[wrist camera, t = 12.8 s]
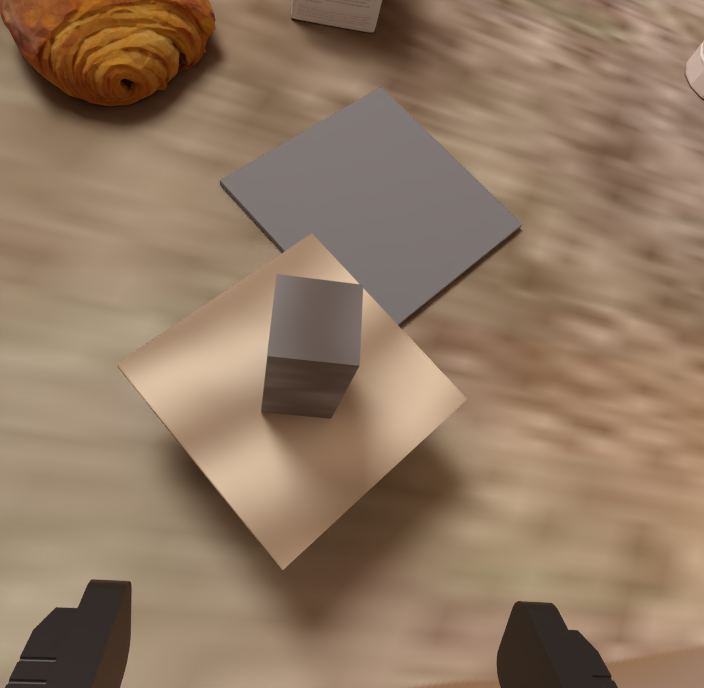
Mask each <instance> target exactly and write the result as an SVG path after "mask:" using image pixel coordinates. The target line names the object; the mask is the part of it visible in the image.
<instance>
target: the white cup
mask: <svg viewBox="0 0 704 688" xmlns="http://www.w3.org/2000/svg"><path fill="white" fill-rule="evenodd" d="M685 74H686V77H687V79H688V82H689V84H690V86H691V87H692V88H693V89H694V91H695V92H696V93H697V94H698V95H699V96H700V97H701V98H703V99H704V41H703V43H702V44H701V45H700V46H699V48H698V49H697V50H696V51H695V53H694V54H693V55H692V56H691V58H690V59H689V60H688V62H687V64H686V72H685Z"/></svg>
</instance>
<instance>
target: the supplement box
mask: <svg viewBox="0 0 704 688" xmlns="http://www.w3.org/2000/svg"><path fill="white" fill-rule="evenodd" d="M381 3H382V0H292V7H291V18H293V19H298V20H303V21H308V22H314V23H319V24H324V25H330V26H335V27H340V28H347V29H352V30H358V31H363V32H374V31H375V28H376V24H377V20H378V16H379V11H380V7H381Z"/></svg>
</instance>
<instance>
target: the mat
mask: <svg viewBox="0 0 704 688" xmlns="http://www.w3.org/2000/svg"><path fill="white" fill-rule="evenodd" d="M220 185H221V186H222V187H223V188H224V189H225V190H226V192H227V193H228V194H229V195H230V196H231V197H232V198H233V199H234V200H235V201H236V202H237V204H238V205H239V206H240V207H241V208H242V209H243V210H244V211H245V212H246V213H247V214H248V216H249V217H250V218H251V219H252V220H253V221H254V222H255V223H256V224H257V225H258V226H259V227H260V229H261V230H262V231H263V232H264V233H265V234H266V235H267V236H268V237H269V238H270V239H271V241H272V242H273V243H274V244H275V245H276V246H277V247H278V248H279V249H280V250H281V251H282V253H283V252H285V251H286V250H288V249H289V248H291V247H292V246H294V245H295V244H297V243H298V242H300V241H301V240H303V239H304V238H306V237H307V236H309V235H310V234H313V235H314V236H315V237H316V238H317V239H318V240H319V241H320V242H321V243H322V244H323V246H324V247H325V248H326V249H327V250H328V251H329V252H330V253H331V254H332V255H333V256H334V257H335V258H336V259H337V261H338V262H339V263H340V264H341V265H342V266H343V267H344V268H345V269H346V270H347V271H348V272H349V273H350V274H351V275H352V277H353V278H354V279H355V280H356V281H357V282H358V283H359V284H361V285H363V288H364V289H365V290H366V292H367V293H368V294H369V295H370V296H371V297H372V298H373V299H374V300H375V301H376V302H377V303H378V304H379V305H380V306H381V308H382V309H383V310H384V311H385V312H386V313H387V314H388V315H389V316H390V317H391V318H392V319H393V320H394V321H395V323H396V324H397V325H400V324H401V323H402V322H403V321H405V320H406V319H407V318H408V317H410V316H411V315H412V314H413V313H415V312H416V311H417V310H418V309H420V308H421V307H422V306H423V305H425V304H426V303H427V302H428V301H429V300H431V299H432V298H433V297H434V296H436V295H437V294H438V293H439V292H441V291H442V290H443V289H444V288H446V287H447V286H448V285H449V284H451V283H452V282H453V281H454V280H456V279H457V278H458V277H459V276H460V275H462V274H463V273H464V272H465V271H467V270H468V269H469V268H470V267H472V266H473V265H474V264H475V263H477V262H478V261H479V260H480V259H482V258H483V257H484V256H485V255H487V254H488V253H489V252H490V251H491V250H493V249H494V248H495V247H496V246H498V245H499V244H500V243H501V242H503V241H504V240H505V239H506V238H508V237H509V236H510V235H511V234H513V233H514V232H515V231H516V230H518V229H519V228H520V227H521V225H522V223H521V222H520V221H519V220H518V219H517V218H516V217H515V216H514V215H513V214H512V213H511V212H510V211H508V210H507V209H506V208H505V207H504V206H503V205H502V204H501V203H500V202H499V201H498V200H497V199H496V198H495V197H494V196H493V195H492V194H491V193H490V192H489V191H488V190H487V189H486V188H485V187H484V186H483V185H482V184H481V183H480V182H479V181H478V180H476V179H475V178H474V177H473V176H472V175H471V174H470V173H469V172H468V171H467V170H466V169H465V168H464V167H463V166H462V165H461V164H460V163H459V162H458V161H457V160H456V159H455V158H454V157H453V156H452V155H451V154H450V153H449V152H448V151H447V150H446V149H445V148H443V147H442V146H441V145H440V144H439V143H438V142H437V141H436V140H435V139H434V138H433V137H432V136H431V135H430V134H429V133H428V132H427V131H426V130H425V129H424V128H423V127H422V126H421V125H420V124H419V123H418V122H417V121H416V120H415V119H414V118H413V117H411V116H410V115H409V114H408V113H407V112H406V111H405V110H404V109H403V108H402V107H401V106H400V105H399V104H398V103H397V102H396V101H395V100H394V99H393V98H392V97H391V96H390V95H389V94H388V93H387V92H386V91H385V90H384V89H383V88H382V87H380V88H378V89H376V90H374V91H373V92H371V93H369V94H368V95H366V96H364V97H362V98H361V99H359V100H357V101H355V102H354V103H352V104H350V105H349V106H347V107H345V108H343V109H342V110H340V111H338V112H337V113H335V114H333V115H331V116H330V117H328V118H326V119H324V120H323V121H321V122H319V123H318V124H316V125H314V126H312V127H311V128H309V129H307V130H305V131H304V132H302V133H300V134H299V135H297V136H295V137H293V138H292V139H290V140H288V141H287V142H285V143H283V144H281V145H280V146H278V147H276V148H274V149H273V150H271V151H269V152H268V153H266V154H264V155H262V156H261V157H259V158H257V159H255V160H254V161H252V162H250V163H249V164H247V165H245V166H243V167H242V168H240V169H238V170H237V171H235V172H233V173H231V174H230V175H228V176H226V177H224V178H223V179H221V180H220Z"/></svg>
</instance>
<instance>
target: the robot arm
mask: <svg viewBox="0 0 704 688" xmlns="http://www.w3.org/2000/svg"><path fill="white" fill-rule="evenodd" d="M131 590H132V589H131V582H130V581H114V580H93V579H92V580H91V581H90V582H89V583H88V585H87V587H86V590H85V592H84V595H83V597H82V599H81V602H80V604H79V606H78V608H58V607H56V608H55V609H54V610H53V611H52V612H51V613H50V614H49V615H48V616H47V617H46V618H45V619H44V620H43V621H42V622H41V623H40V624H39V625H38V626H37V627H36V628H35V629H34V630H33V631H32V634H31V636H30V638H29V640H28V642H27V644H26V646H25V648H24V650H23V652H22V654H21V656H20V661H19V662H17V664H16V666H15V668H14V670H13V672H12V675H11V677H10V679H9V683H8V685H6V687H5V688H120V686H121V682H122V679H123V675H124V672H125V668H126V664H127V659H128V653H129V647H130V637H131ZM497 674H498V679H499V683H500V686H501V688H618V687H617V685H616V683H615V682H614V681H612V680H611V674H610V673H609V671H608V669H607V667H606V665H605V663H604V662H603V660H602V658H601V656H600V654H599V652H598V651H597V650H596V649H595V648H594V647H593V646H592V645H591V644H590V643H589V642H588V641H587V640H586V639H585V638H584V637H583V635H582V634H581V633H580V632H579V631H578V630H568V628H567V627H566V625H565V623H564V621H563V619H562V617H561V615H560V613H559V611H558V609H557V608H556V606H555V605H554V604H552V603H543V602H522V601H518V602H516V603H515V604H514V606H513V608H512V611H511V614H510V617H509V620H508V623H507V626H506V629H505V632H504V635H503V638H502V641H501V644H500V647H499V650H498V654H497Z"/></svg>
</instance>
